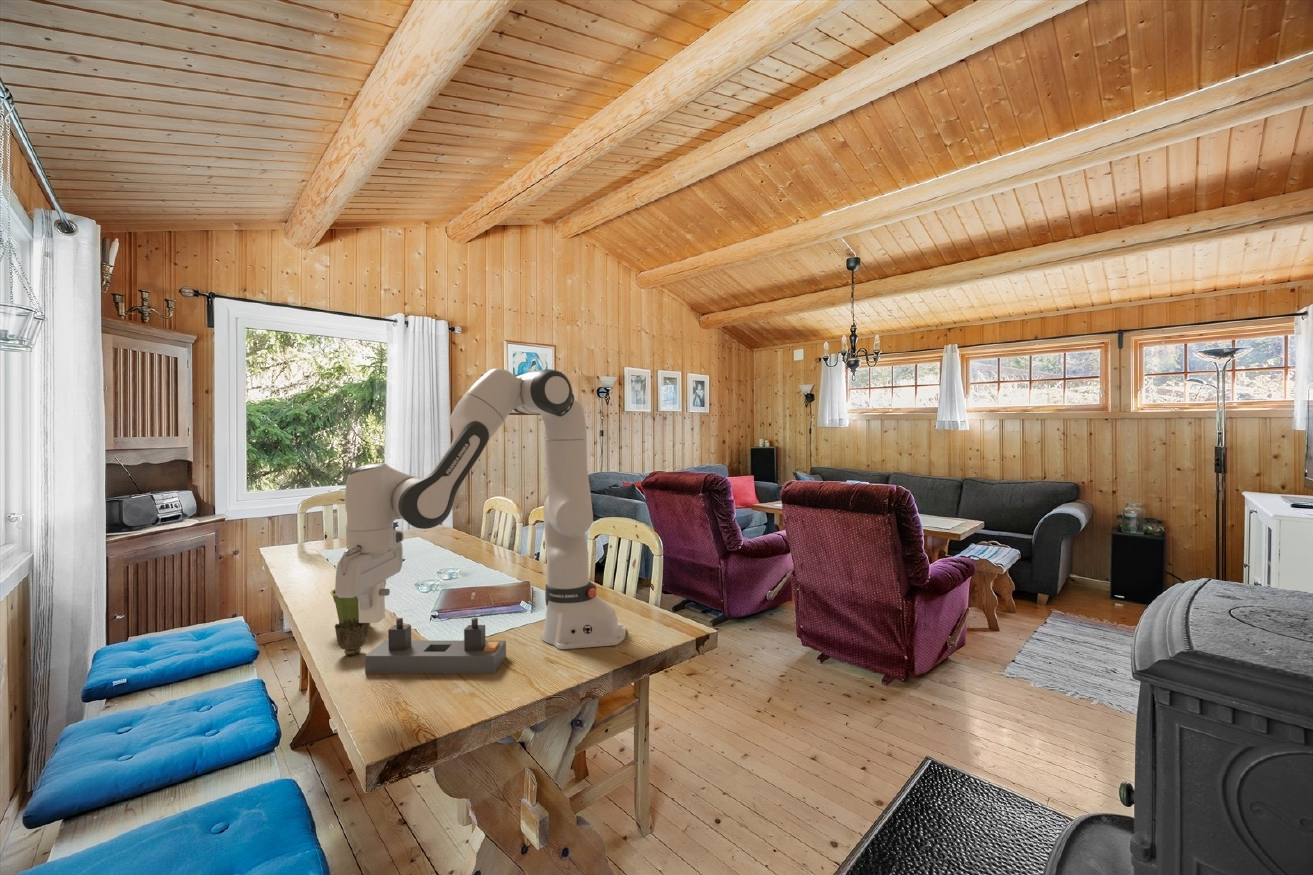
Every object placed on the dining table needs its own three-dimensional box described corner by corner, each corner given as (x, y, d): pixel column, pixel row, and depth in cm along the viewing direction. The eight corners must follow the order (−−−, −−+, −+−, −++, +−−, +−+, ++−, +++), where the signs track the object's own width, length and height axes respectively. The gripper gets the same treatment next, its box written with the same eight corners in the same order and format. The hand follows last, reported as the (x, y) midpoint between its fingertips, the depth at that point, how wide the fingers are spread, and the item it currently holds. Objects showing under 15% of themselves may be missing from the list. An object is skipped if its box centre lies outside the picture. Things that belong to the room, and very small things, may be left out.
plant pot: (388, 624, 158) (387, 585, 158) (350, 639, 147) (349, 597, 147) (360, 618, 163) (359, 580, 163) (321, 632, 152) (320, 592, 152)
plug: (392, 617, 119) (391, 580, 118) (385, 622, 116) (384, 584, 116) (366, 617, 119) (365, 580, 119) (358, 622, 116) (357, 585, 116)
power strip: (506, 656, 136) (505, 612, 135) (494, 673, 127) (493, 625, 126) (385, 656, 136) (384, 612, 136) (365, 673, 127) (364, 625, 127)
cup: (331, 654, 138) (331, 622, 138) (363, 645, 143) (363, 614, 143) (340, 663, 133) (339, 630, 133) (373, 653, 138) (372, 622, 138)
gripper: (357, 552, 106) (359, 623, 107) (407, 531, 127) (408, 590, 127) (325, 552, 106) (327, 623, 107) (380, 531, 127) (381, 591, 127)
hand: (371, 605), depth 117 cm, fingers closed on plug, 3 cm apart
